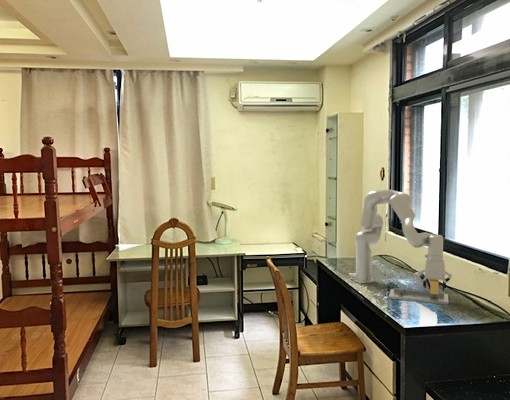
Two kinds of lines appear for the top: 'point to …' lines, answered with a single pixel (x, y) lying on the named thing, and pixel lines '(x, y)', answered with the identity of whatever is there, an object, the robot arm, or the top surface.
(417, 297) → the hole plate
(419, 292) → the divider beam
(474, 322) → the top surface
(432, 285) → the block
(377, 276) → the top surface
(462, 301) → the top surface
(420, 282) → the grey curved piece
